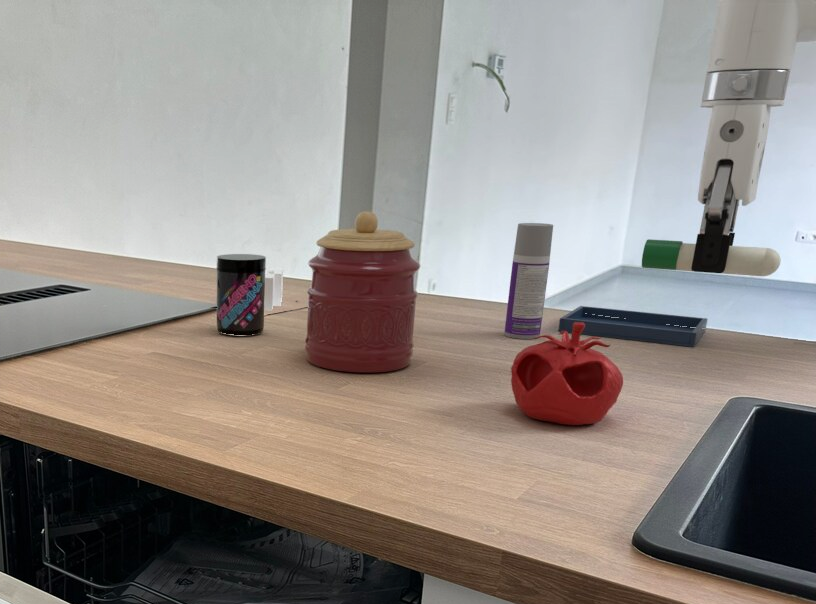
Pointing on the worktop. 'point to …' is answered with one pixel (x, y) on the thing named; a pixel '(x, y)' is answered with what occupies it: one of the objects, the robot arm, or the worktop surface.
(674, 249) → the marker
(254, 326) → the supplement container
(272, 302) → the napkin holder
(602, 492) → the worktop surface
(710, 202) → the robot arm
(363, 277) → the kitchen canister
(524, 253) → the container
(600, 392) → the red hollow tomato
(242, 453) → the worktop surface
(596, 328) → the pen tray
